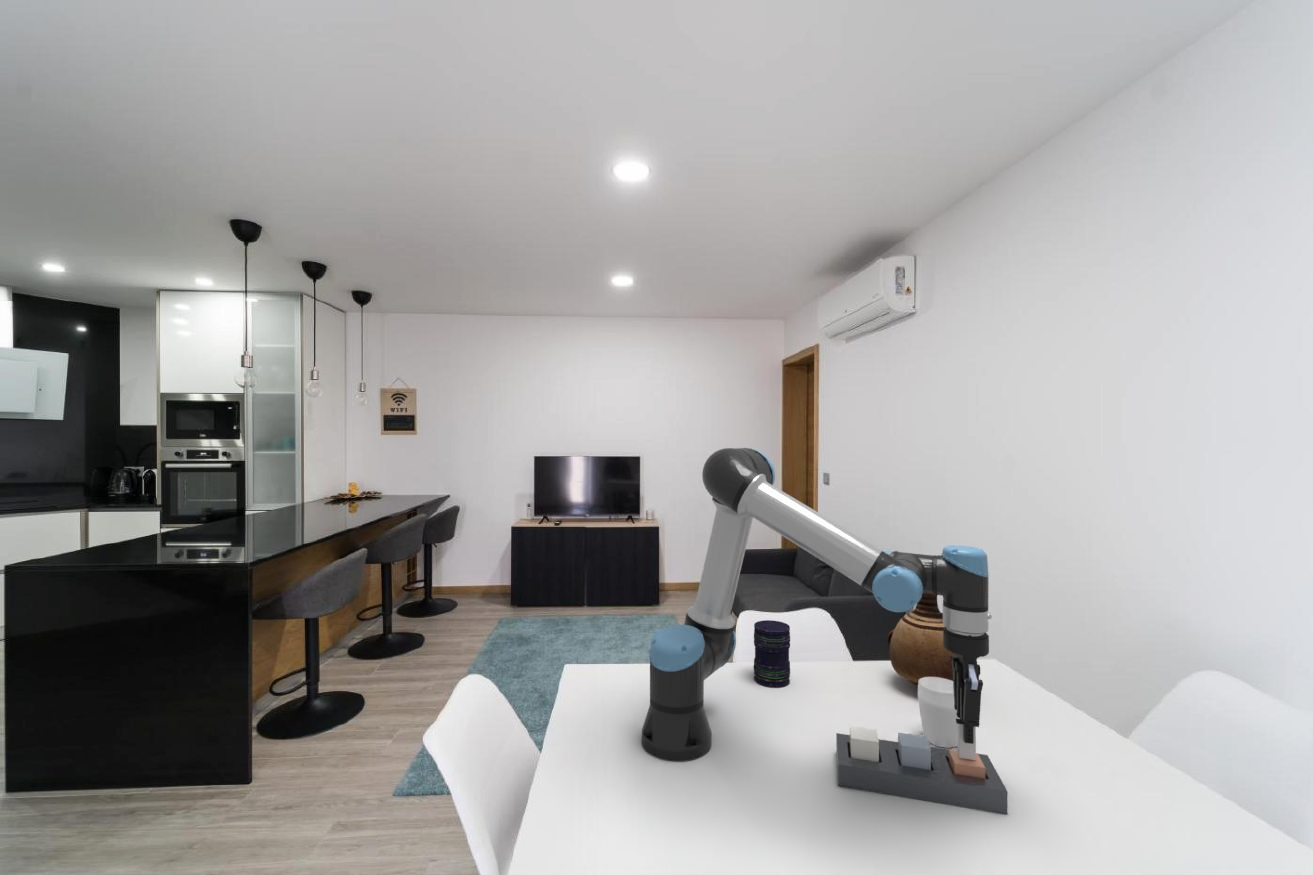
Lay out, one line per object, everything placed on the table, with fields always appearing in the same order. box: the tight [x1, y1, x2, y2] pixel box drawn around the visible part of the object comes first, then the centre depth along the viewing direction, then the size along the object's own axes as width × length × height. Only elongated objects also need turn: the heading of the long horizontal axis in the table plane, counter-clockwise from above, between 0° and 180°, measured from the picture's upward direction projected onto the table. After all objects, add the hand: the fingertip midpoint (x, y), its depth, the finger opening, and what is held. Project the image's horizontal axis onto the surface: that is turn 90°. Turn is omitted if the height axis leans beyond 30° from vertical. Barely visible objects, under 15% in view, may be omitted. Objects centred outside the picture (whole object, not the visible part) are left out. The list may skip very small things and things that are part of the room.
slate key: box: [897, 732, 931, 770], centre depth 106 cm, size 5×5×5 cm
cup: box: [917, 677, 960, 749], centre depth 121 cm, size 9×9×12 cm
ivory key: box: [849, 725, 879, 762], centre depth 108 cm, size 5×5×5 cm
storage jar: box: [753, 619, 791, 689], centre depth 152 cm, size 10×10×15 cm
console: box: [835, 733, 1009, 815], centre depth 106 cm, size 28×12×4 cm, turn 73°
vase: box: [886, 593, 955, 687], centre depth 146 cm, size 21×18×30 cm
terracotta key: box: [948, 748, 985, 779], centre depth 103 cm, size 5×5×5 cm
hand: (966, 756), depth 103 cm, fingers closed
